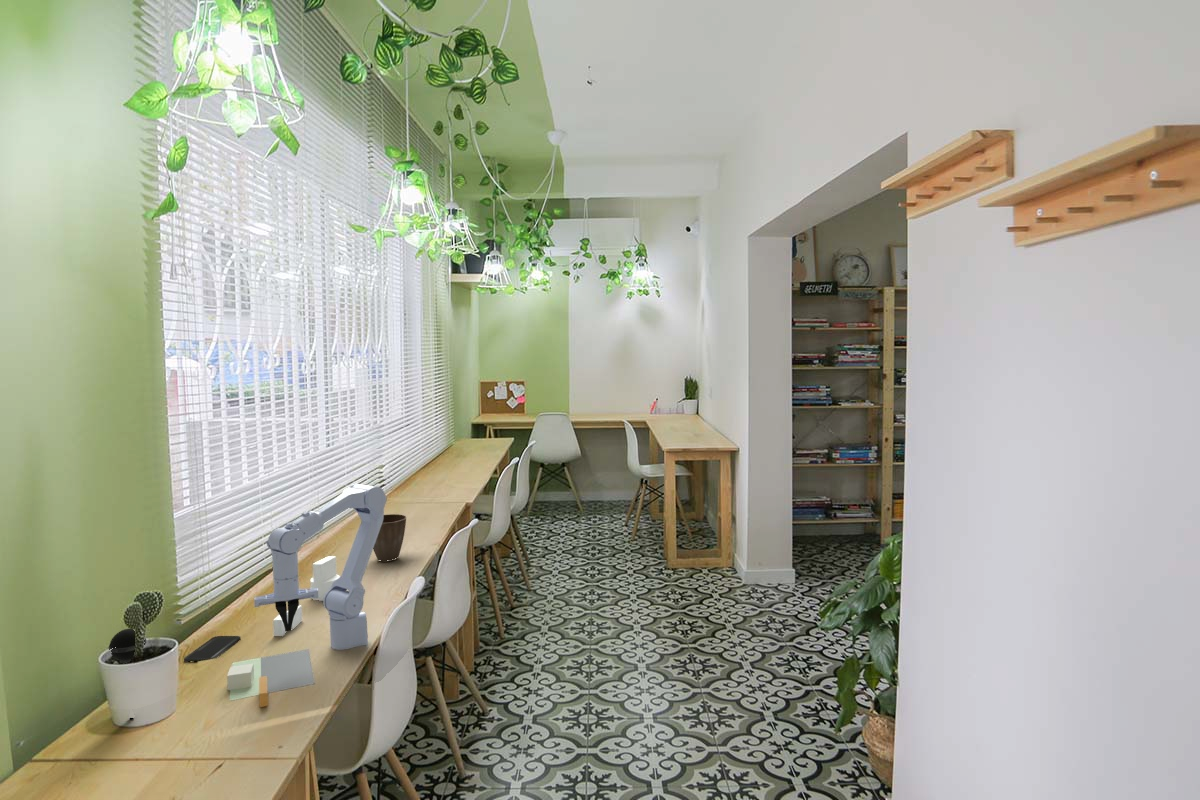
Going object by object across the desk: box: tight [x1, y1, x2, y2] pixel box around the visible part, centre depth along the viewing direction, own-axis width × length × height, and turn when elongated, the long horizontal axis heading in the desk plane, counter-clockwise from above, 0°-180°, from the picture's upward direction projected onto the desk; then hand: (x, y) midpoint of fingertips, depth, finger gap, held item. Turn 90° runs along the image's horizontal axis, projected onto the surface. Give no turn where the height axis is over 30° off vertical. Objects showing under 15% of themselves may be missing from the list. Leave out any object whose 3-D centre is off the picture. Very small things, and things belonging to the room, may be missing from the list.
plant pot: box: [372, 513, 407, 561], centre depth 270 cm, size 15×15×16 cm
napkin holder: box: [272, 604, 303, 637], centre depth 203 cm, size 15×11×6 cm
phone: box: [183, 635, 242, 663], centre depth 189 cm, size 8×1×15 cm
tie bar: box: [258, 676, 269, 708], centre depth 159 cm, size 2×9×3 cm, turn 26°
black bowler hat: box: [107, 628, 147, 664], centre depth 153 cm, size 7×7×20 cm
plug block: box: [226, 664, 254, 691], centre depth 167 cm, size 5×5×4 cm
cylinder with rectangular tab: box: [310, 555, 341, 602], centre depth 230 cm, size 9×9×12 cm
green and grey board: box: [229, 648, 316, 702], centre depth 173 cm, size 18×22×1 cm
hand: (288, 629), depth 176 cm, fingers closed
